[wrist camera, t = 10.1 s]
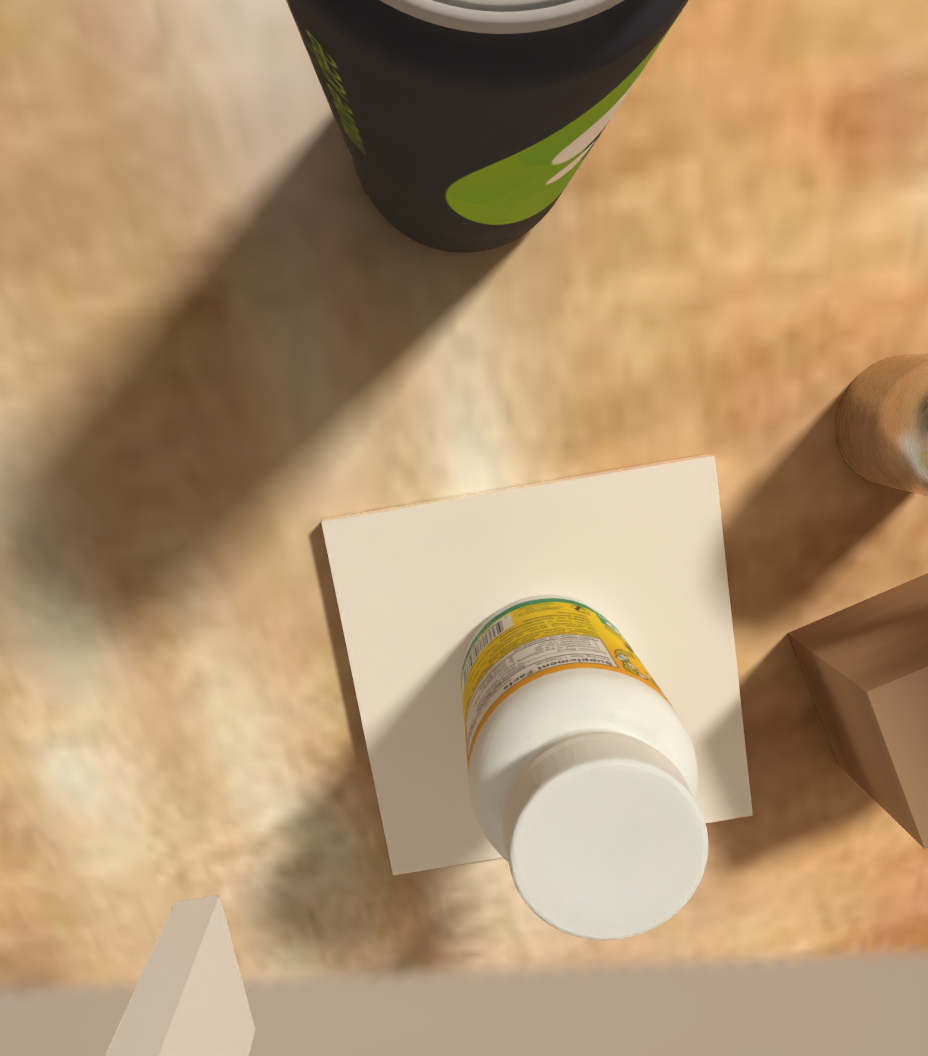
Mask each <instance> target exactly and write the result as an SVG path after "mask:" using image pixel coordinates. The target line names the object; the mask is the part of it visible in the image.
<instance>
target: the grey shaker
mask: <svg viewBox="0 0 928 1056" xmlns="http://www.w3.org/2000/svg"><path fill="white" fill-rule="evenodd" d="M836 438H837V443H838V446H839V449H840V451H841V454H842V456H843V458H844V459H845V461H846V462H847V464H848V465H849V466H850V467H851V468H852V469H853V470H854V471H855V472H856V473H857V474H858V475H860V476H861V477H863V478H864V479H866V480H869V481H871V482H874V483H877V484H880V485H884V486H888V487H892V488H896V489H901V490H905V491H909V492H913V493H917V494H921V495H925V496H928V354H919V355H901V356H894V357H890V358H886V359H883V360H881V361H878V362H876V363H875V364H873V365H871V366H869V367H868V368H867V369H865V370H864V371H863V372H861V373H860V374H859V375H858V376H857V377H856V378H855V379H854V380H853V382H852V383H851V384H850V386H849V387H848V388H847V390H846V392H845V393H844V395H843V397H842V399H841V402H840V405H839V408H838V412H837V416H836Z"/></svg>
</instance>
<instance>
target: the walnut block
mask: <svg viewBox="0 0 928 1056" xmlns="http://www.w3.org/2000/svg"><path fill="white" fill-rule="evenodd" d="M788 636H789V638H790V641H791V644H792V646H793V649H794V651H795V654H796V657H797V659H798V662H799V664H800V667H801V670H802V672H803V675H804V678H805V680H806V683H807V685H808V688H809V691H810V693H811V696H812V698H813V701H814V704H815V706H816V709H817V711H818V714H819V717H820V719H821V722H822V724H823V727H824V730H825V732H826V735H827V737H828V740H829V743H830V745H831V748H832V751H833V753H834V756H835V758H836V761H837V764H838V765H839V766H840V767H842V768H843V769H844V770H845V771H846V772H847V773H848V774H849V775H850V776H851V777H852V778H853V779H854V780H855V781H856V782H857V783H858V784H859V785H860V786H861V787H862V788H863V789H864V790H865V791H866V792H867V793H868V794H869V795H870V796H871V797H872V798H873V799H874V800H875V801H876V802H877V803H878V804H879V805H880V806H881V807H882V808H883V809H884V810H886V811H887V812H888V813H889V814H890V815H891V816H892V817H893V818H894V819H895V820H896V821H897V822H898V823H899V824H900V825H901V826H902V827H903V828H904V829H905V830H906V831H907V832H908V833H909V834H910V835H911V836H912V837H913V838H914V839H915V840H916V841H917V842H918V843H919V844H920V845H921V846H922V847H923V848H924V849H925V848H928V574H925V575H923V576H921V577H918V578H916V579H914V580H911V581H909V582H907V583H904V584H902V585H900V586H897V587H895V588H892V589H890V590H888V591H885V592H883V593H881V594H878V595H876V596H874V597H871V598H869V599H867V600H864V601H862V602H860V603H857V604H855V605H853V606H850V607H848V608H846V609H843V610H841V611H839V612H836V613H834V614H832V615H829V616H827V617H825V618H822V619H820V620H818V621H815V622H813V623H811V624H808V625H806V626H804V627H801V628H799V629H797V630H794V631H792V632H790V633H788Z"/></svg>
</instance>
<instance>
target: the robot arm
mask: <svg viewBox="0 0 928 1056" xmlns="http://www.w3.org/2000/svg"><path fill="white" fill-rule="evenodd" d="M254 1033H255V1027H254V1024H253V1020H252V1016H251V1012H250V1009H249V1004H248V1001H247V997H246V993H245V989H244V986H243V982H242V978H241V974H240V970H239V967H238V963H237V959H236V955H235V952H234V948H233V944H232V940H231V937H230V933H229V929H228V925H227V921H226V918H225V914H224V910H223V906H222V903H221V899H220V895H215V896H210V897H204V898H198V899H193V900H187V901H181V902H176V903H174V905H173V907H172V909H171V911H170V914H169V916H168V918H167V920H166V922H165V925H164V927H163V929H162V931H161V933H160V936H159V938H158V940H157V942H156V944H155V947H154V949H153V951H152V953H151V955H150V958H149V960H148V962H147V964H146V966H145V969H144V971H143V973H142V975H141V977H140V980H139V982H138V984H137V986H136V988H135V991H134V993H133V995H132V997H131V999H130V1002H129V1004H128V1006H127V1008H126V1011H125V1013H124V1015H123V1017H122V1020H121V1022H120V1024H119V1026H118V1028H117V1030H116V1033H115V1035H114V1037H113V1039H112V1041H111V1044H110V1046H109V1048H108V1050H107V1052H106V1055H105V1056H249V1053H250V1049H251V1045H252V1041H253V1037H254Z"/></svg>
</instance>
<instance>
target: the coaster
mask: <svg viewBox="0 0 928 1056" xmlns="http://www.w3.org/2000/svg"><path fill="white" fill-rule="evenodd" d="M321 524H322V528H323V533H324V538H325V543H326V548H327V553H328V558H329V563H330V568H331V573H332V578H333V583H334V588H335V592H336V597H337V602H338V607H339V612H340V617H341V622H342V627H343V632H344V637H345V642H346V647H347V652H348V656H349V661H350V666H351V671H352V676H353V681H354V686H355V691H356V696H357V701H358V706H359V711H360V716H361V720H362V725H363V730H364V735H365V740H366V745H367V750H368V755H369V760H370V765H371V770H372V775H373V780H374V784H375V789H376V794H377V799H378V804H379V809H380V814H381V819H382V824H383V829H384V834H385V839H386V844H387V848H388V853H389V858H390V863H391V868H392V873H393V876H394V875H400V874H406V873H412V872H418V871H424V870H430V869H436V868H442V867H448V866H454V865H460V864H466V863H472V862H478V861H484V860H490V859H496V858H502V856H501V855H500V854H499V853H498V852H497V850H496V849H495V848H494V847H493V846H492V844H491V843H490V842H489V840H488V839H487V837H486V836H485V834H484V833H483V831H482V829H481V827H480V825H479V823H478V821H477V818H476V816H475V813H474V810H473V806H472V802H471V798H470V791H469V781H468V769H467V753H466V740H465V727H464V714H463V702H462V692H461V671H462V664H463V660H464V656H465V653H466V650H467V648H468V646H469V644H470V642H471V640H472V638H473V636H474V635H475V633H476V632H477V630H478V629H479V628H480V627H481V625H482V624H483V623H484V622H485V621H486V620H487V619H488V618H489V617H491V616H492V615H493V614H494V613H495V612H497V611H498V610H500V609H501V608H503V607H505V606H506V605H508V604H510V603H512V602H515V601H517V600H520V599H523V598H527V597H532V596H537V595H562V596H567V597H571V598H575V599H578V600H580V601H582V602H584V603H586V604H588V605H590V606H592V607H593V608H595V609H596V610H597V611H599V612H600V613H601V614H602V615H603V616H605V617H606V618H607V619H608V620H609V621H610V622H611V623H612V624H613V625H614V626H615V627H616V628H617V630H618V631H619V632H620V633H621V635H622V636H623V637H624V638H625V640H626V641H627V643H628V644H629V645H630V647H631V648H632V650H633V652H634V653H635V654H636V656H637V657H638V658H639V660H640V661H641V663H642V664H643V666H644V667H645V668H646V670H647V671H648V672H649V674H650V675H651V677H652V678H653V679H654V681H655V682H656V684H657V685H658V686H659V688H660V689H661V691H662V692H663V694H664V695H665V697H666V698H667V699H668V701H669V702H670V704H671V705H672V707H673V708H674V710H675V711H676V712H677V714H678V716H679V717H680V719H681V720H682V722H683V724H684V726H685V727H686V729H687V731H688V733H689V736H690V738H691V741H692V744H693V747H694V751H695V755H696V760H697V770H698V786H697V794H696V799H695V800H696V801H697V803H698V805H699V807H700V809H701V811H702V813H703V817H704V821H705V823H711V822H717V821H723V820H729V819H735V818H741V817H747V816H753V812H752V803H751V793H750V784H749V774H748V765H747V756H746V746H745V737H744V727H743V718H742V708H741V699H740V690H739V680H738V671H737V661H736V652H735V642H734V633H733V624H732V614H731V605H730V595H729V586H728V576H727V567H726V558H725V548H724V539H723V529H722V520H721V510H720V501H719V492H718V482H717V473H716V463H715V456H714V455H710V454H705V455H699V456H693V457H687V458H681V459H675V460H669V461H663V462H657V463H651V464H645V465H640V466H634V467H628V468H622V469H616V470H610V471H604V472H598V473H592V474H586V475H580V476H574V477H568V478H562V479H556V480H550V481H544V482H539V483H533V484H527V485H521V486H515V487H509V488H503V489H497V490H491V491H485V492H479V493H473V494H467V495H461V496H455V497H449V498H444V499H438V500H432V501H426V502H420V503H414V504H408V505H402V506H396V507H390V508H384V509H378V510H372V511H366V512H360V513H354V514H348V515H343V516H337V517H331V518H325V519H323V521H322V522H321Z"/></svg>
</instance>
